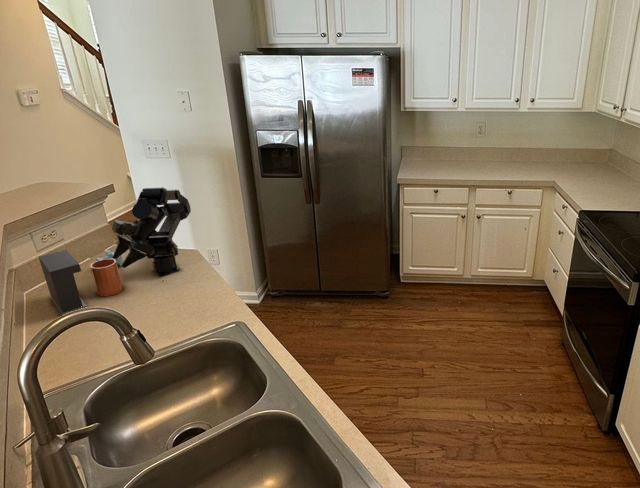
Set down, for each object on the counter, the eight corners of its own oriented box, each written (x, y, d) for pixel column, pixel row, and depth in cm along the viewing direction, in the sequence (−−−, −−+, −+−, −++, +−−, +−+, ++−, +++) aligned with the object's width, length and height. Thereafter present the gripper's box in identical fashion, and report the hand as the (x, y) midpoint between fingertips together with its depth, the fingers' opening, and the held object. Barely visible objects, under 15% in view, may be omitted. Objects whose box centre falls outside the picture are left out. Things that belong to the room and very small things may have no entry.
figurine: (97, 268, 154) (93, 253, 152) (122, 261, 160) (119, 246, 158) (101, 272, 152) (97, 256, 150) (126, 264, 158) (123, 249, 155)
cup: (118, 283, 145) (111, 256, 142) (125, 290, 141) (119, 263, 137) (95, 290, 140) (87, 263, 137) (101, 298, 136) (94, 270, 133)
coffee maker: (78, 291, 140) (66, 249, 135) (91, 307, 132) (79, 263, 126) (51, 299, 135) (38, 256, 130) (63, 316, 127) (49, 272, 121)
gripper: (117, 204, 144) (85, 243, 141) (135, 218, 133) (102, 261, 129) (147, 220, 153) (118, 257, 149) (167, 234, 141) (136, 275, 137)
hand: (118, 262), depth 141 cm, fingers open, 9 cm apart
